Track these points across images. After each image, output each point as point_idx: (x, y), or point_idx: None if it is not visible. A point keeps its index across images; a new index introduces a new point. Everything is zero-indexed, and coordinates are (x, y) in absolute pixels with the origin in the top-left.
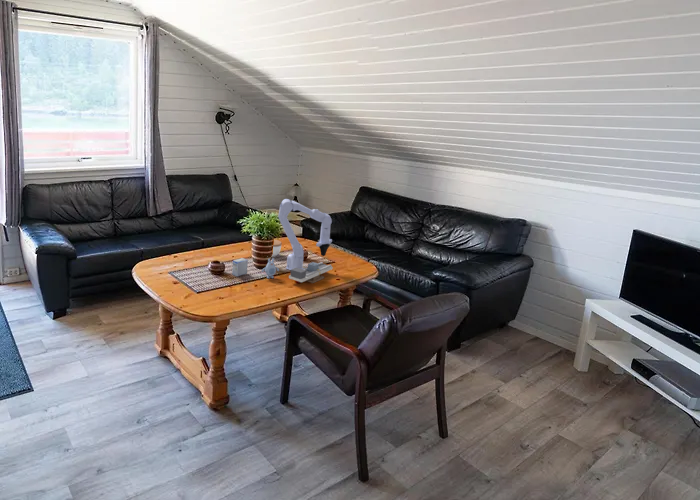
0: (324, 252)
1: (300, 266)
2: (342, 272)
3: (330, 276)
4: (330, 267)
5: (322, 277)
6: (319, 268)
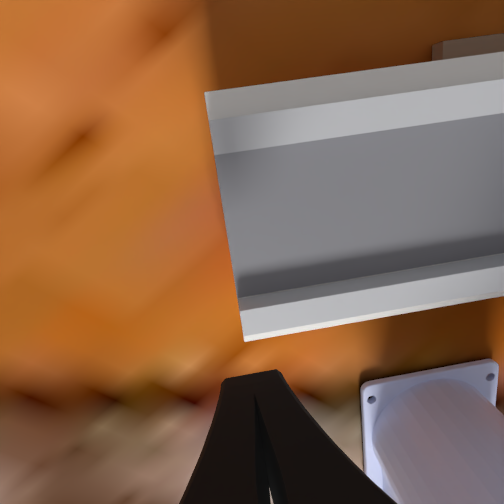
0: (323, 433)
1: (477, 410)
2: (9, 31)
3: (309, 34)
4: (270, 89)
5: (481, 43)
6: (468, 171)
